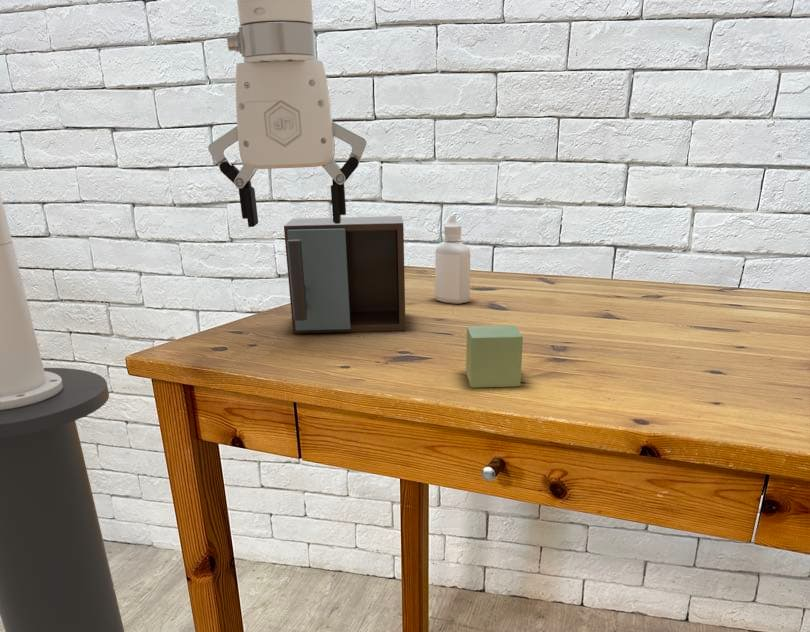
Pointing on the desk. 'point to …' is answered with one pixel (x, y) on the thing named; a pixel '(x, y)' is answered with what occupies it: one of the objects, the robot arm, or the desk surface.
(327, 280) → the closet door
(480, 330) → the block
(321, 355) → the desk surface
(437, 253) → the eye dropper bottle
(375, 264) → the closet
